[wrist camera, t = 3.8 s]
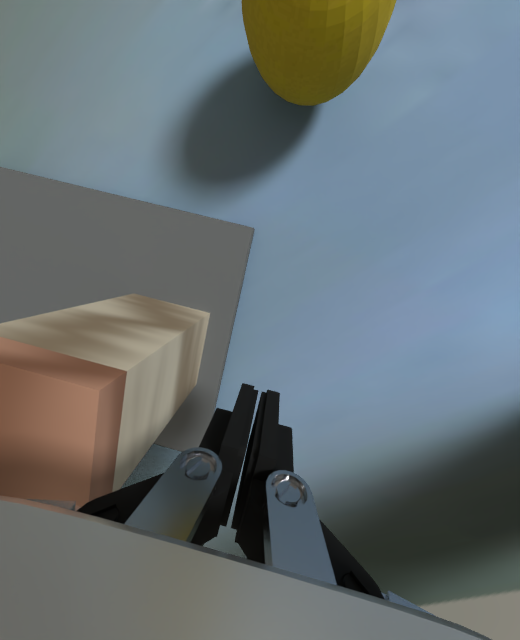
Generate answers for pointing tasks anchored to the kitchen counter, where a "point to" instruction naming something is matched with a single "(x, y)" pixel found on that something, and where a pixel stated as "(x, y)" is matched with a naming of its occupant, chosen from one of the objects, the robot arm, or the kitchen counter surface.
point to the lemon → (313, 43)
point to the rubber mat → (122, 269)
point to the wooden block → (91, 393)
